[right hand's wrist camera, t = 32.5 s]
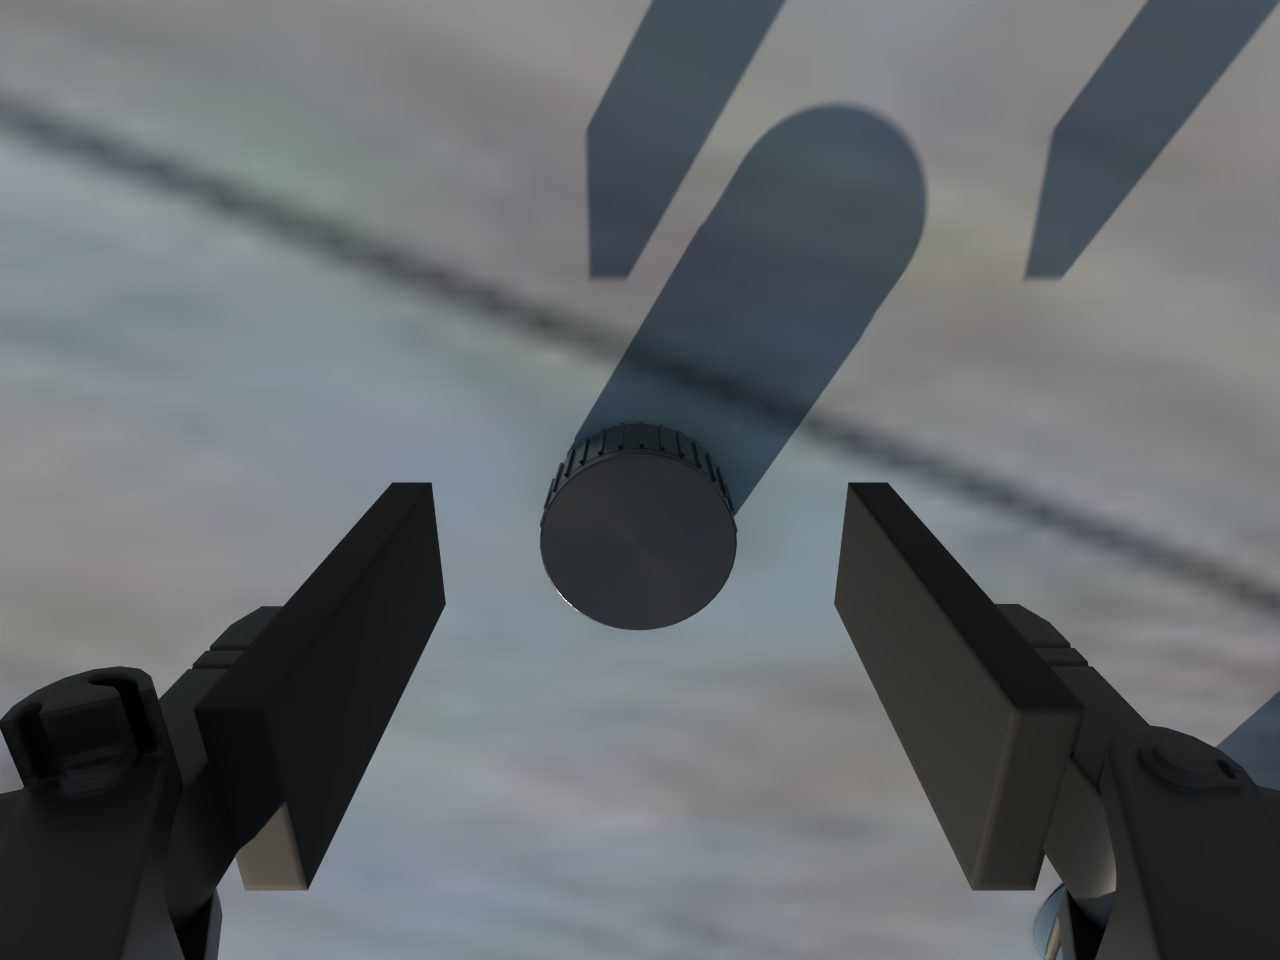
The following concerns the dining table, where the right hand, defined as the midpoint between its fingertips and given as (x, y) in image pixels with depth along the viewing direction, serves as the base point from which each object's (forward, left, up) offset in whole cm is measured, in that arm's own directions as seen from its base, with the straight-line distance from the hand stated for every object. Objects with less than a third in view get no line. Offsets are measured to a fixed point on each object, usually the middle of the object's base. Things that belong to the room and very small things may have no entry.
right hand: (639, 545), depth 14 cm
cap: (0, 0, 0) cm, 0 cm away
